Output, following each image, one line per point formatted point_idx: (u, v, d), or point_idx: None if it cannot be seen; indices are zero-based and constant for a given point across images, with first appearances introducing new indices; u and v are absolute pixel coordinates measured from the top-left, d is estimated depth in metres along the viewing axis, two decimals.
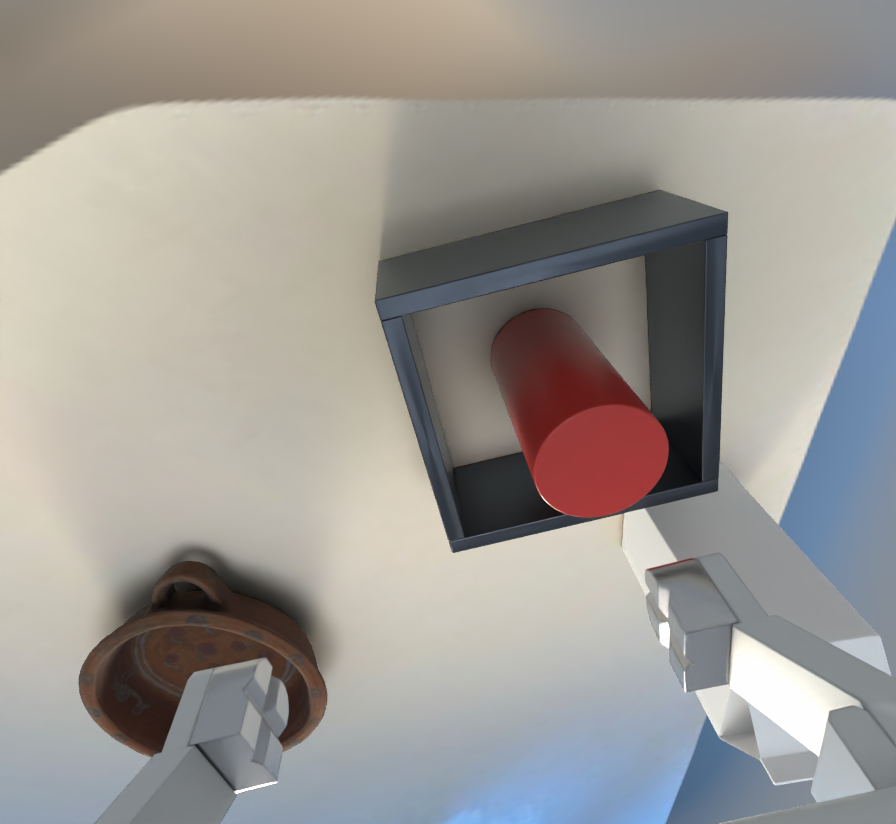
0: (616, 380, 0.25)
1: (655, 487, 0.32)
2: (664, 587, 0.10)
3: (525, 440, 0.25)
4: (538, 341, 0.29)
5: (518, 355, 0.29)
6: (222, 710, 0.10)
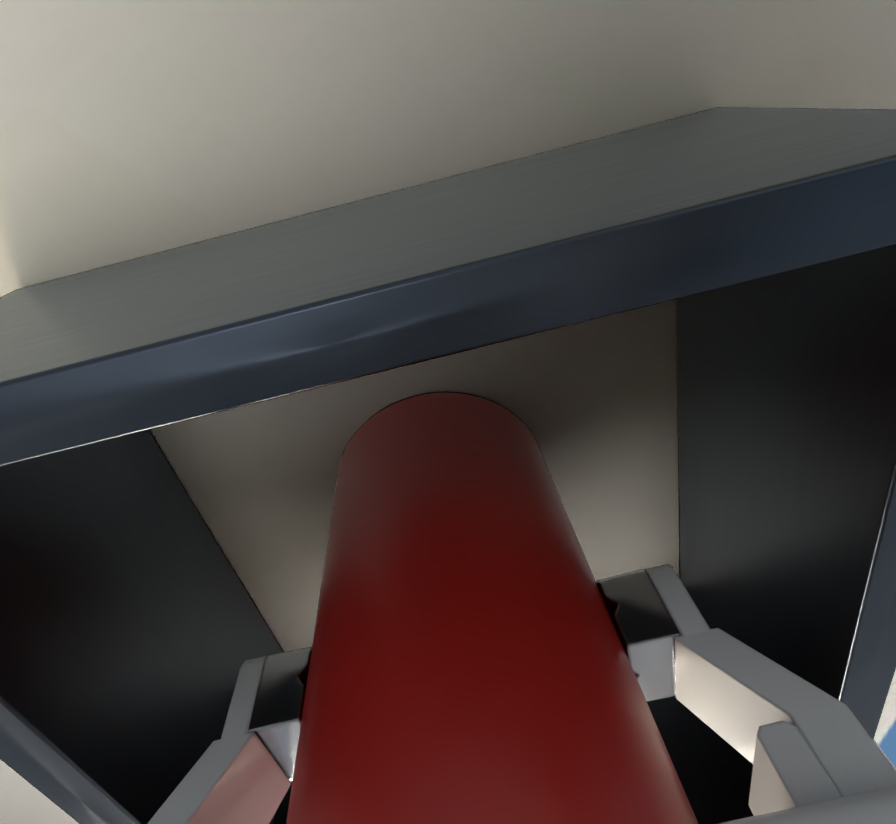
0: (599, 762, 0.07)
1: (699, 813, 0.14)
2: (612, 599, 0.10)
3: None
4: (394, 512, 0.11)
5: (346, 543, 0.11)
6: (279, 697, 0.10)
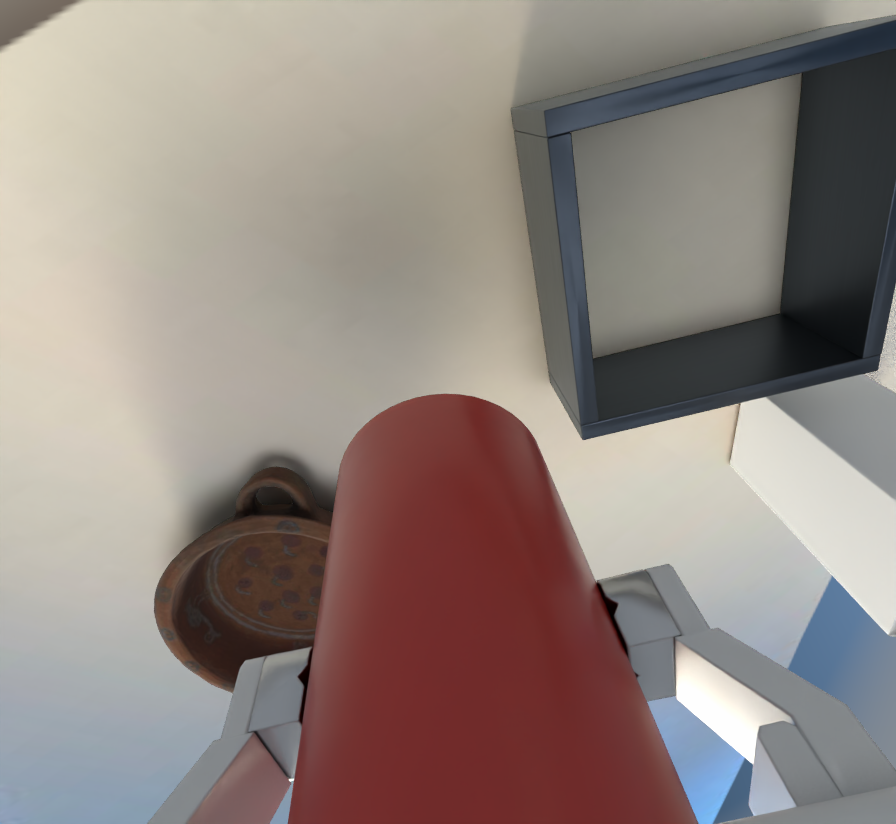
0: (600, 764, 0.07)
1: (808, 366, 0.29)
2: (612, 599, 0.10)
3: None
4: (395, 513, 0.11)
5: (347, 544, 0.11)
6: (278, 697, 0.10)
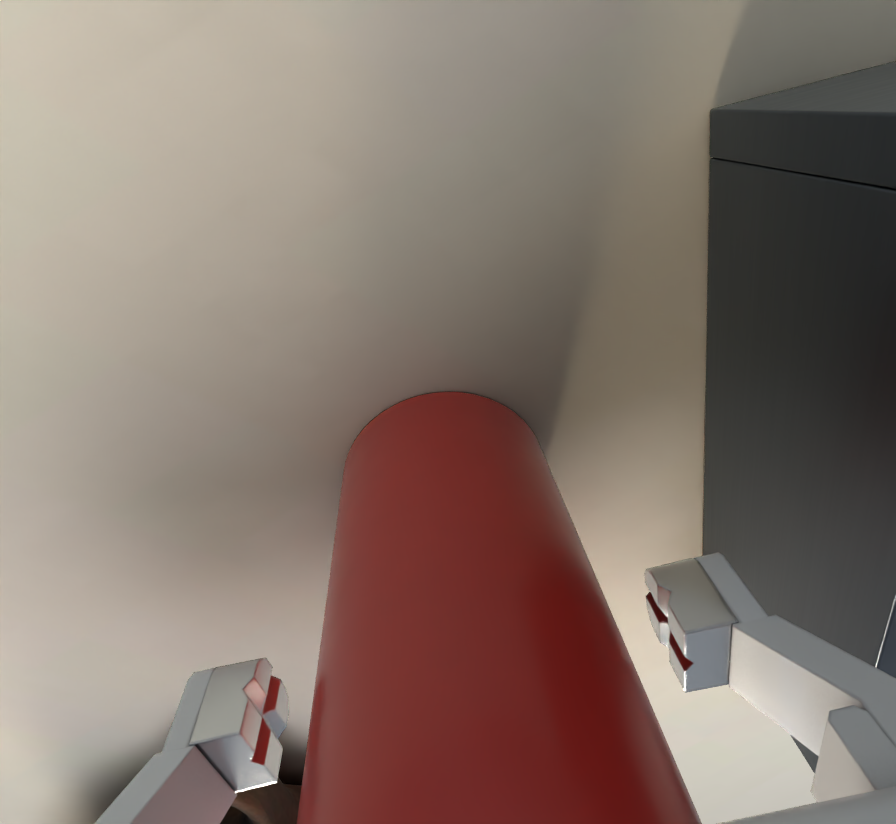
0: (598, 740, 0.07)
1: None
2: (664, 587, 0.10)
3: None
4: (400, 506, 0.11)
5: (354, 536, 0.11)
6: (222, 710, 0.10)
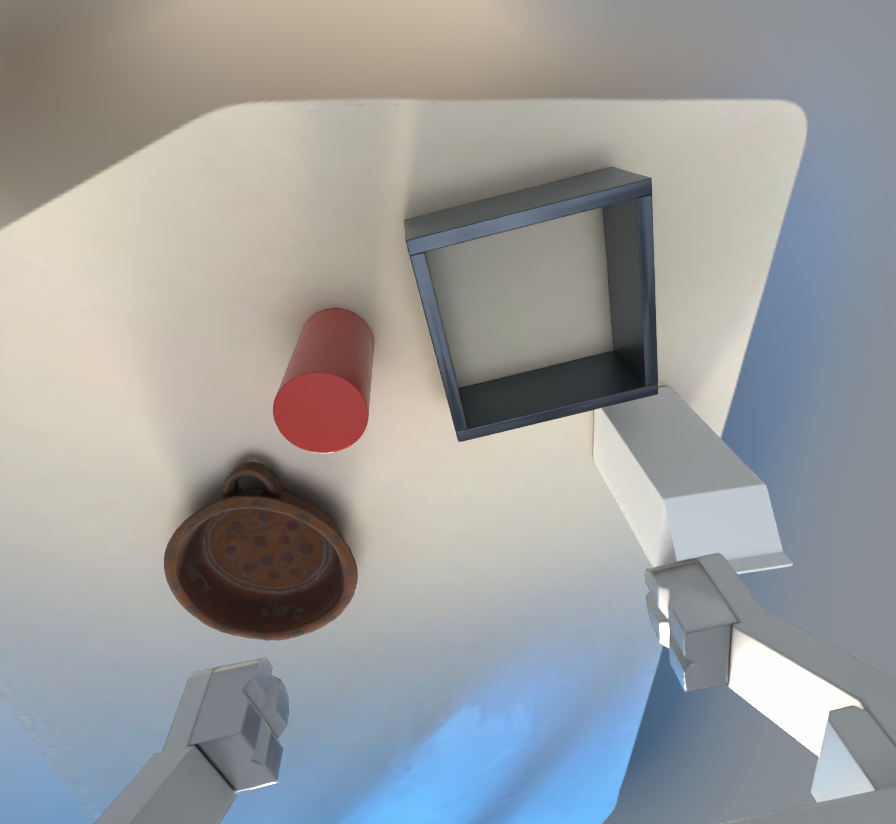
0: (339, 358, 0.36)
1: (611, 391, 0.42)
2: (664, 587, 0.10)
3: None
4: (311, 332, 0.40)
5: (298, 342, 0.40)
6: (222, 710, 0.10)
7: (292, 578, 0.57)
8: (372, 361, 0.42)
